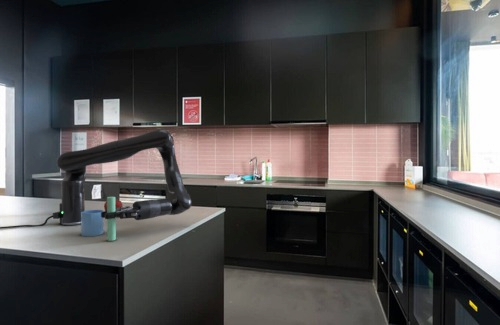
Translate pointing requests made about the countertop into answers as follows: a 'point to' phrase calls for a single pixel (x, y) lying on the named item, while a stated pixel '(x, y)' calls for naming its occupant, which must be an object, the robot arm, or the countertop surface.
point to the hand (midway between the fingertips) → (103, 215)
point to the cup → (92, 223)
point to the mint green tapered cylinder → (111, 222)
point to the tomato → (117, 204)
